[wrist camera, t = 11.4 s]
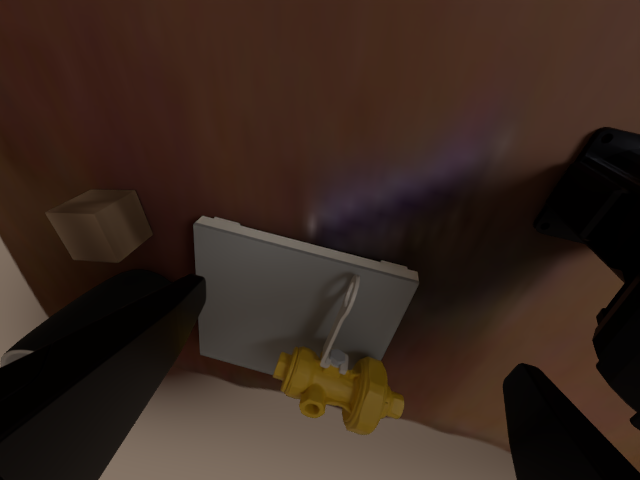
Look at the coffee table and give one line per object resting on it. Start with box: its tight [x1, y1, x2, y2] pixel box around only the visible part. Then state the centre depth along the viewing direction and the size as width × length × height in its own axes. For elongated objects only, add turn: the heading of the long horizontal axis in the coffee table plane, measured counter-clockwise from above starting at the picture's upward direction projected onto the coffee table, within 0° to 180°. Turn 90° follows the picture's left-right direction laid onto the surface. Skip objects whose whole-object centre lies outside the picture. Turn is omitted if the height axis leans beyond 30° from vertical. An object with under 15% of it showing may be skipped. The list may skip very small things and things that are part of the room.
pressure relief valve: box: [273, 274, 404, 435], centre depth 22 cm, size 6×12×10 cm
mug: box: [1, 270, 171, 367], centre depth 26 cm, size 12×9×10 cm
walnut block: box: [45, 190, 153, 263], centre depth 24 cm, size 4×4×4 cm
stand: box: [193, 216, 419, 375], centre depth 26 cm, size 16×15×2 cm
